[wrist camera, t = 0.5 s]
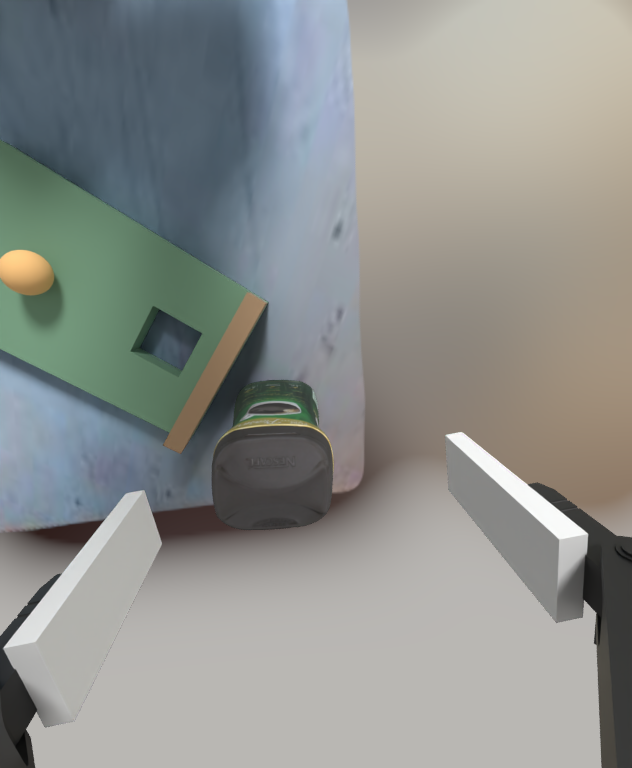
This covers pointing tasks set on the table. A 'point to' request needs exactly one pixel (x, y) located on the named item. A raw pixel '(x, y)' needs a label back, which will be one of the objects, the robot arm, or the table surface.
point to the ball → (26, 272)
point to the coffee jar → (273, 459)
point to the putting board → (114, 301)
